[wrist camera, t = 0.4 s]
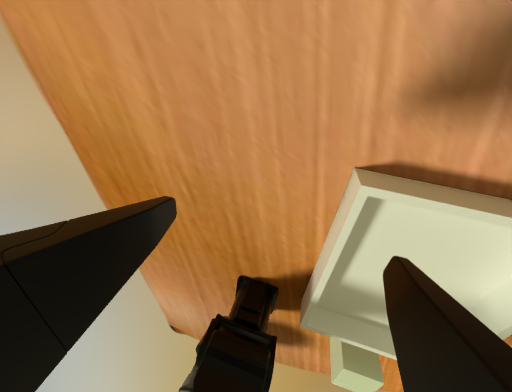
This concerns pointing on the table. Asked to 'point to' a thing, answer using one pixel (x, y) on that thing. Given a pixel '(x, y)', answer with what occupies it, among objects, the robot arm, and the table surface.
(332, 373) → the sage block
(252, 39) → the table surface
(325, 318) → the bin
